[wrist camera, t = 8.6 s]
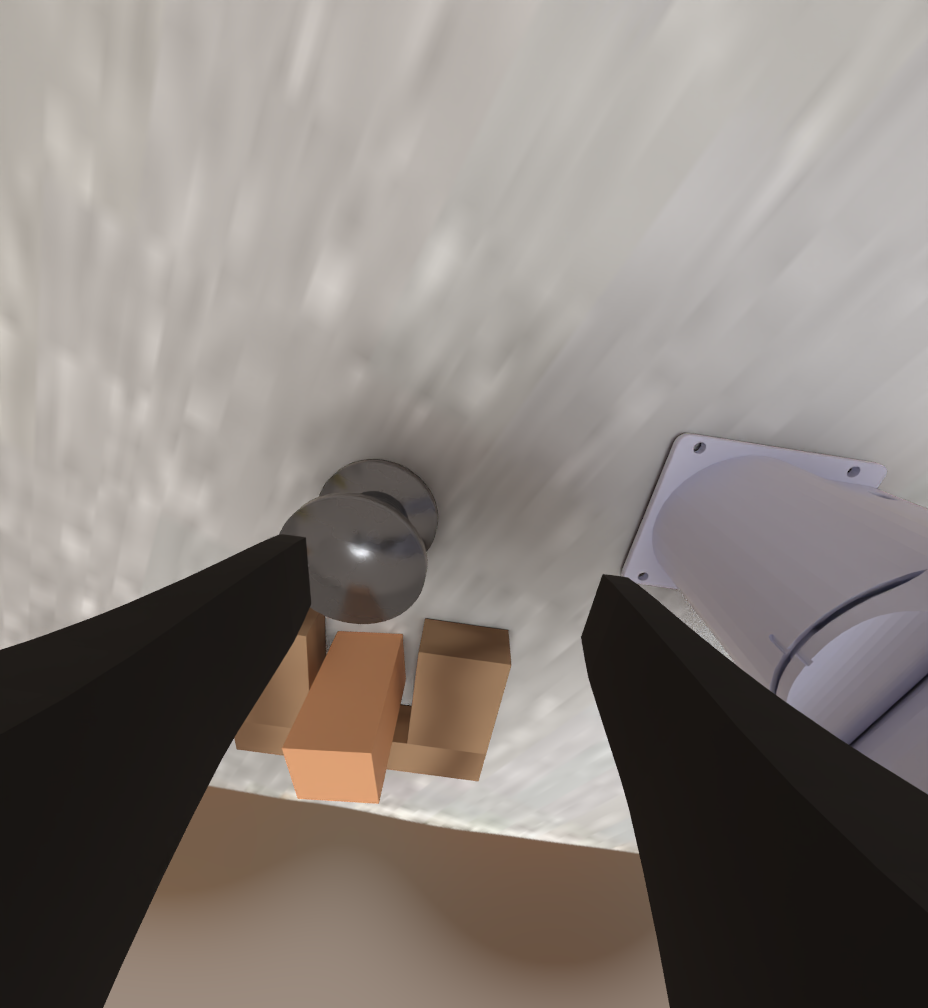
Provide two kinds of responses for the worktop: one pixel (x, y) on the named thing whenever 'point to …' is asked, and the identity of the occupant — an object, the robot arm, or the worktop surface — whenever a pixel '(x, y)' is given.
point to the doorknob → (367, 541)
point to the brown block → (348, 720)
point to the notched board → (421, 727)
